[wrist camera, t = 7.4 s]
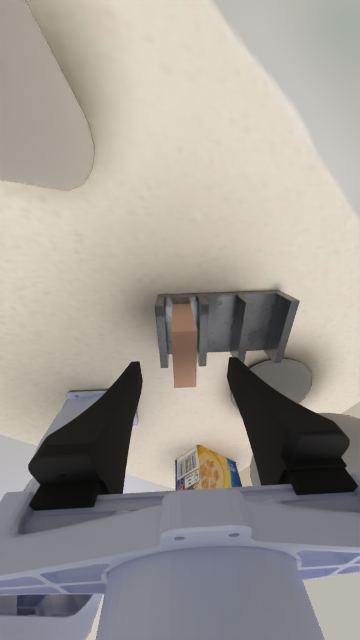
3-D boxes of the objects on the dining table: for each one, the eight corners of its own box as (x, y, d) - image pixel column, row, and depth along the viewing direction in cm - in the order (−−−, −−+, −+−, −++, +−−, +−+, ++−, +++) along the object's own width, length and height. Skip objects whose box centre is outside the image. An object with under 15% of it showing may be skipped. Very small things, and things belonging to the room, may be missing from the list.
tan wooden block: (174, 349, 21) (174, 387, 16) (172, 304, 18) (171, 331, 13) (190, 348, 21) (195, 386, 16) (190, 303, 18) (197, 330, 13)
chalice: (205, 391, 26) (239, 558, 12) (283, 332, 22) (464, 491, 8) (259, 427, 30) (326, 578, 17) (332, 384, 26) (501, 541, 13)
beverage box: (212, 475, 38) (255, 735, 18) (175, 459, 34) (175, 759, 15) (235, 462, 36) (312, 743, 16) (197, 444, 32) (234, 772, 12)
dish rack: (162, 349, 22) (161, 367, 19) (158, 294, 19) (154, 306, 16) (266, 345, 22) (280, 363, 19) (279, 290, 19) (299, 300, 16)
